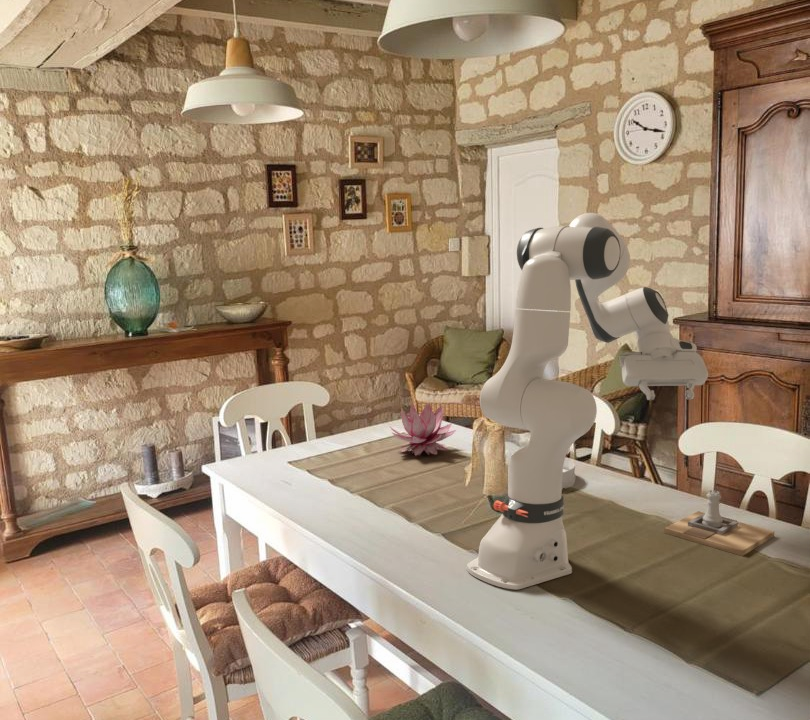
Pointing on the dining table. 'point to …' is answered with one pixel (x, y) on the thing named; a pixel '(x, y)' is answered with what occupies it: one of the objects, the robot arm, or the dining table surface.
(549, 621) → the dining table surface
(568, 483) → the dish
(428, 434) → the decorative flower
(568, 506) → the dining table surface
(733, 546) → the oak board
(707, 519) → the rook chess piece
